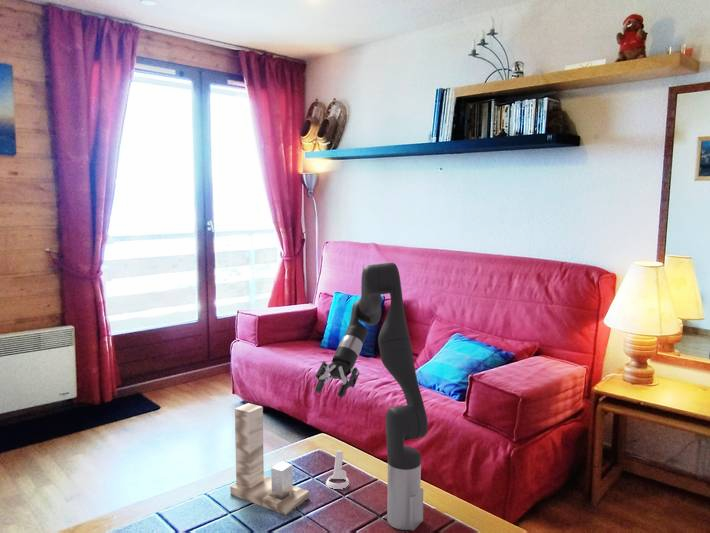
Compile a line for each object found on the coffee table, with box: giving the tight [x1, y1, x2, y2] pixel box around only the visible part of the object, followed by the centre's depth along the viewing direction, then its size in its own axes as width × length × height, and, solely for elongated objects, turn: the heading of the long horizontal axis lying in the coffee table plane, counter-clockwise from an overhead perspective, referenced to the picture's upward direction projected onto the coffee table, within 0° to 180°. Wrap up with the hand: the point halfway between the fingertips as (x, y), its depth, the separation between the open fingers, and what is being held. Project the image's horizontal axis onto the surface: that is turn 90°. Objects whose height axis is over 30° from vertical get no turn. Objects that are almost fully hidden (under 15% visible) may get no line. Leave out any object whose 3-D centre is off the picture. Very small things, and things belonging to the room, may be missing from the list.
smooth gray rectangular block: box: [270, 460, 294, 500], centre depth 167 cm, size 4×5×11 cm
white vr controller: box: [325, 449, 350, 490], centre depth 179 cm, size 8×12×7 cm
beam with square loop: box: [229, 402, 310, 516], centre depth 168 cm, size 22×11×26 cm, turn 57°
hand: (328, 394), depth 178 cm, fingers open, 8 cm apart
